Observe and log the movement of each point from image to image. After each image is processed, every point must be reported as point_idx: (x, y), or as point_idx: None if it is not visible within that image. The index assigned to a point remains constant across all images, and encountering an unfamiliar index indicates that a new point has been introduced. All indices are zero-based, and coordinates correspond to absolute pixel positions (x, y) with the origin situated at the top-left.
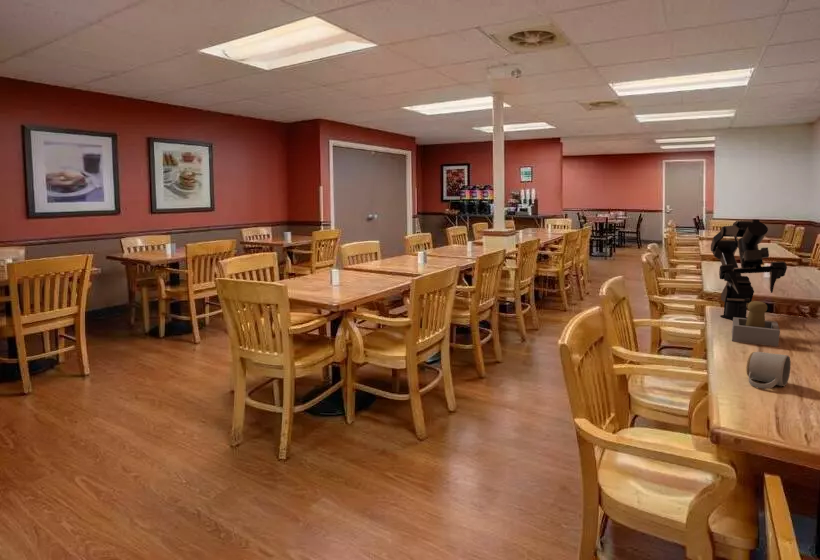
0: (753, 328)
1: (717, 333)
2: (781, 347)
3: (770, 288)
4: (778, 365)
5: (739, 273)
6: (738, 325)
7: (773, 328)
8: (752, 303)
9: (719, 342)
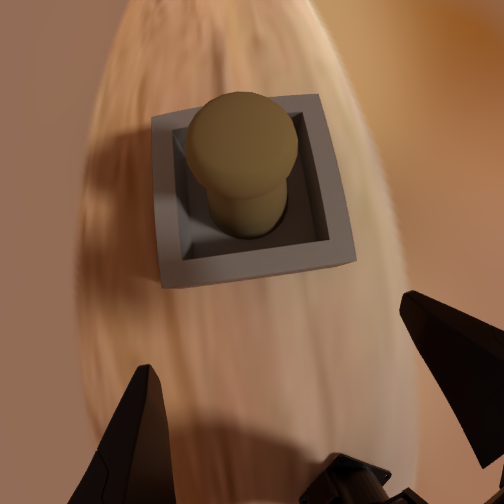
0: None
1: (373, 205)
2: None
3: (157, 407)
4: None
5: (498, 491)
6: (303, 105)
7: (172, 136)
8: (269, 101)
9: (336, 95)
